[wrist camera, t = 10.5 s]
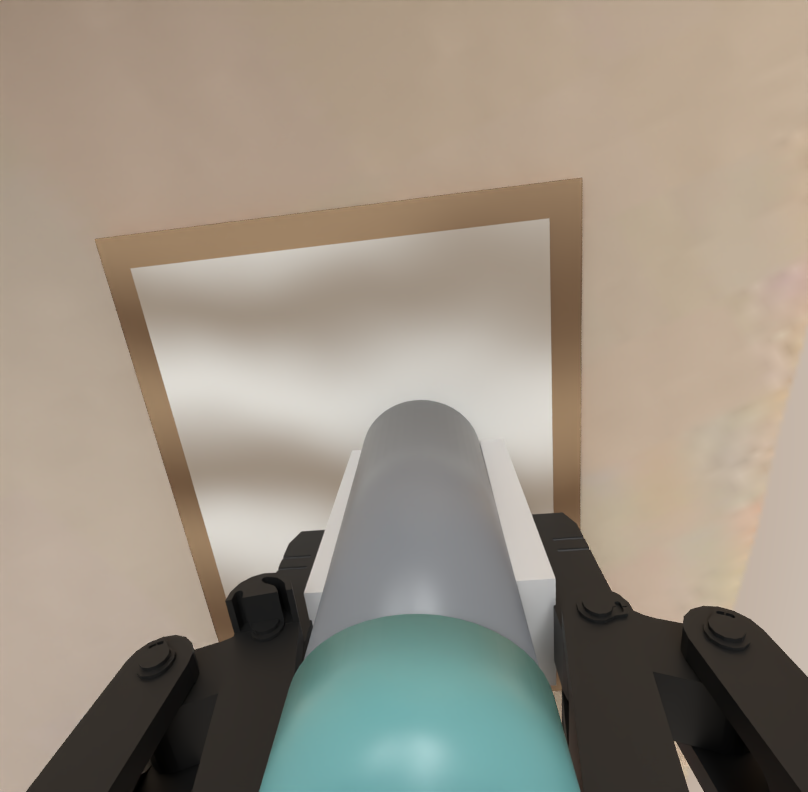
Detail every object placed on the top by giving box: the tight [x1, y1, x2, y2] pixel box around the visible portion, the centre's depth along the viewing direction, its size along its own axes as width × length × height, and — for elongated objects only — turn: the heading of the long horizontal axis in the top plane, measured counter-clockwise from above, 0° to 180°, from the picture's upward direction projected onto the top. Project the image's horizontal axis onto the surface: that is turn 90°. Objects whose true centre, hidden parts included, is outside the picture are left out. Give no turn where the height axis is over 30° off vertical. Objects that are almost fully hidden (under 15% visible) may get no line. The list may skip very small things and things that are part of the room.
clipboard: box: [95, 178, 582, 691], centre depth 17 cm, size 20×15×2 cm
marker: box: [259, 400, 581, 792], centre depth 11 cm, size 4×4×12 cm
